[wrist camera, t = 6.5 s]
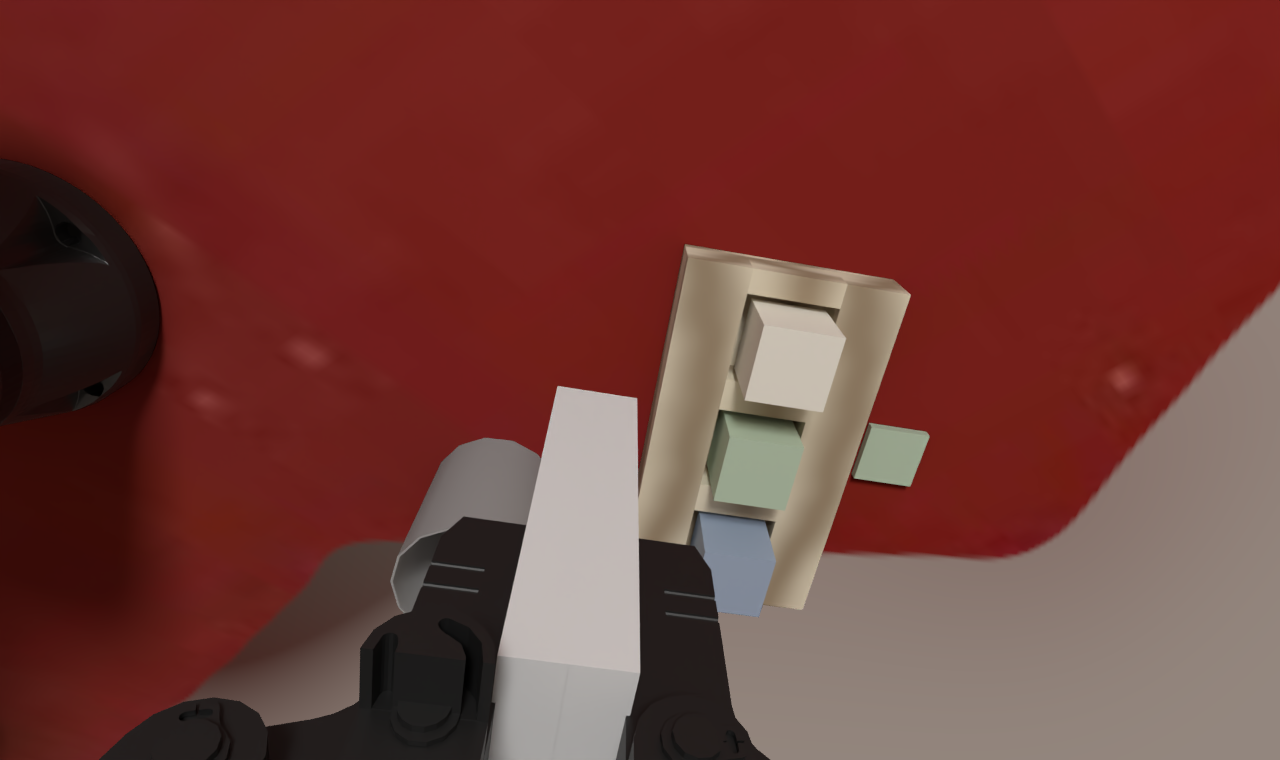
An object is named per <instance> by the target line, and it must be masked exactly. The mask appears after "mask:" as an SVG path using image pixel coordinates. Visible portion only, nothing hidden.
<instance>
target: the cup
mask: <svg viewBox="0 0 1280 760" xmlns="http://www.w3.org/2000/svg"><path fill="white" fill-rule="evenodd" d="M540 463H541V458H540V457H539V456H538V454H536V453H534V452H532V451H531V450H529V449H527V448H525V447H523V446H521V445H520V444H518V443H516V442H514V441H509V440H500V439H491V438H483V439H480V440H476V441H473V442H469V443H466V444H463V445H459V446H458V447H457V448H456V449H455V450H454V451H453V452H452V453H451V454H450V455H449V456H448V457H446V458H445V459H444V460H443V461H442V462H441V464H440V466H439V468H438V470H437V473H436V475H435V477H434V479H433V481H432V483H431V486H430V488H429V490H428V492H427V494H426V496H425V498H424V501H423V503H422V505H421V507H420V509H419V511H418V513H417V516H416V518H415V520H414V522H413V524H412V526H411V528H410V531H409V533H408V535H407V537H406V539H405V541H404V544H403V546H402V548H401V550H400V552H399V554H398V557H397V560H396V564H395V567H394V570H393V574H392V578H391V585H392V588H393V591H394V595H395V598H396V601H397V605H398V607H399V608H400V610H401V611H402V612H403V613H408V612H411V611H412V609H413V606H414V604H415V601H416V599H417V596H418V594H419V591H420V589H421V587H422V586H423V581H424V578H425V576H426V573H427V571H428V568H429V566H431V561H432V558H433V556H434V553H435V551H436V548H437V545H438V543H439V540H440V538H441V536H442V535H443V534H444V533H445V532H446V531H447V530H449V529H450V528H451V527H452V526H453V525H454V524H455V523H457V522H458V521H459V520H460V519H461V518H462V517H464V516H465V517H472V518H479V519H486V520H493V521H501V522H508V523H515V524H522V525H527V521H528V516H529V512H530V507H531V503H532V499H533V494H534V490H535V485H536V481H537V476H538V472H539V467H540Z"/></svg>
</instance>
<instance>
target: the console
mask: <svg viewBox="0 0 1280 760" xmlns="http://www.w3.org/2000/svg"><path fill="white" fill-rule="evenodd" d="M910 296H911V295H910V294H909V293H908V292H907V291H906V290H905V289H903V288H902V287H901V286H900V285H899V284H898V283H897V282H895V281H894V280H892V279H886V278H880V277H874V276H868V275H862V274H856V273H851V272H845V271H839V270H833V269H827V268H821V267H815V266H810V265H804V264H798V263H792V262H786V261H780V260H774V259H769V258H763V257H757V256H751V255H745V254H739V253H734V252H728V251H722V250H716V249H710V248H704V247H698V246H693V245H687V244H685V245H684V250H683V255H682V260H681V265H680V270H679V275H678V280H677V285H676V290H675V295H674V299H673V304H672V309H671V314H670V319H669V324H668V329H667V334H666V339H665V344H664V349H663V354H662V359H661V364H660V369H659V374H658V379H657V383H656V388H655V393H654V398H653V403H652V408H651V413H650V418H649V423H648V428H647V433H646V438H645V443H644V448H643V453H642V458H641V463H640V468H639V472H638V523H639V538H640V539H647V540H654V541H662V542H669V543H676V544H683V545H690V543H691V539H692V535H693V531H694V527H695V523H696V519H697V515H698V511H704V512H711V513H718V514H725V515H732V516H740V517H747V518H754V519H761V520H765V523H766V527H767V531H768V534H769V538H770V541H771V545H772V548H773V552H774V556H775V559H776V564H775V567H774V570H773V574H772V577H771V580H770V583H769V586H768V590H767V593H766V596H765V599H764V602H763V605H769V606H776V607H784V608H791V609H799V610H803V607H804V604H805V601H806V598H807V596H808V592H809V590H810V587H811V584H812V581H813V578H814V575H815V572H816V569H817V566H818V564H819V561H820V558H821V555H822V552H823V549H824V546H825V543H826V540H827V537H828V535H829V532H830V529H831V526H832V523H833V520H834V517H835V514H836V511H837V508H838V505H839V503H840V500H841V497H842V494H843V491H844V488H845V485H846V482H847V479H848V476H849V473H850V471H851V468H852V465H853V462H854V459H855V456H856V453H857V450H858V447H859V444H860V441H861V439H862V436H863V433H864V430H865V427H866V424H867V421H868V418H869V415H870V412H871V409H872V407H873V404H874V401H875V398H876V395H877V392H878V389H879V386H880V383H881V380H882V378H883V375H884V372H885V369H886V366H887V363H888V360H889V357H890V354H891V351H892V348H893V346H894V343H895V340H896V337H897V334H898V331H899V328H900V325H901V322H902V319H903V316H904V314H905V311H906V308H907V305H908V302H909V299H910ZM751 298H752V299H758V300H764V301H770V302H776V303H782V304H788V305H794V306H800V307H807V308H813V309H819V310H825V311H826V312H827V313H828V314H829V316H830V317H831V319H832V320H833V321H834V323H835V324H836V325H837V327H838V328H839V329H840V331H841V332H842V333H843V335H844V336H845V337H846V341H845V344H844V347H843V350H842V353H841V357H840V360H839V363H838V366H837V369H836V372H835V376H834V379H833V382H832V385H831V388H830V392H829V395H828V398H827V401H826V404H825V408H824V411H823V412H817V411H810V410H804V409H797V408H791V407H784V406H778V405H771V404H765V403H758V402H752V401H745V400H744V397H743V394H742V391H741V388H740V385H739V381H738V378H737V375H736V372H735V369H734V367H735V363H736V359H737V355H738V351H739V347H740V343H741V338H742V334H743V330H744V326H745V322H746V318H747V314H748V310H749V306H750V302H751ZM719 410H726V411H733V412H740V413H746V414H753V415H759V416H766V417H772V418H779V419H785V420H792V421H793V423H794V425H795V428H796V430H797V432H798V435H799V437H800V439H801V442H802V444H803V446H804V451H803V454H802V457H801V460H800V464H799V467H798V470H797V473H796V477H795V480H794V483H793V486H792V489H791V493H790V496H789V499H788V502H787V506H786V509H785V511H783V510H776V509H769V508H762V507H755V506H748V505H741V504H734V503H727V502H720V501H714V500H713V495H712V489H711V484H710V478H709V472H708V467H707V459H708V455H709V451H710V447H711V443H712V439H713V435H714V431H715V427H716V423H717V419H718V414H719Z"/></svg>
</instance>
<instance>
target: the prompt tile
mask: <svg viewBox="0 0 1280 760" xmlns="http://www.w3.org/2000/svg"><path fill="white" fill-rule="evenodd" d="M929 437H930V436H929V435H928V433H927V432H924V431H918V430H912V429H905V428H899V427H892V426H886V425H879V424H873V423H869V425H868V428H867V430H866V433H865V436H864V439H863V442H862V445H861V448H860V451H859V454H858V457H857V459H856V462H855V465H854V468H853V471H852V475H853V477H854V478H855V479H862V480H869V481H876V482H883V483H889V484H896V485H903V486H911V483H912V480H913V478H914V475H915V473H916V470H917V467H918V465H919V462H920V460H921V457H922V455H923V452H924V449H925V447H926V444H927V442H928V439H929Z"/></svg>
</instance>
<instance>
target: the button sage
mask: <svg viewBox="0 0 1280 760" xmlns="http://www.w3.org/2000/svg"><path fill="white" fill-rule="evenodd" d="M803 451H804V446H803V444H802V442H801V439H800V437H799V435H798V432H797V430H796V428H795V425H794V423H793V421H792V420H785V419H779V418H772V417H766V416H759V415H753V414H746V413H740V412H733V411H726V410H719V414H718V419H717V423H716V427H715V431H714V435H713V439H712V443H711V447H710V451H709V455H708V459H707V467H708V472H709V478H710V484H711V489H712V495H713V500H714V501H720V502H727V503H734V504H741V505H748V506H755V507H762V508H769V509H776V510H783V511H785V509H786V506H787V502H788V499H789V496H790V493H791V489H792V486H793V483H794V480H795V477H796V473H797V470H798V467H799V464H800V460H801V457H802V454H803Z"/></svg>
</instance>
